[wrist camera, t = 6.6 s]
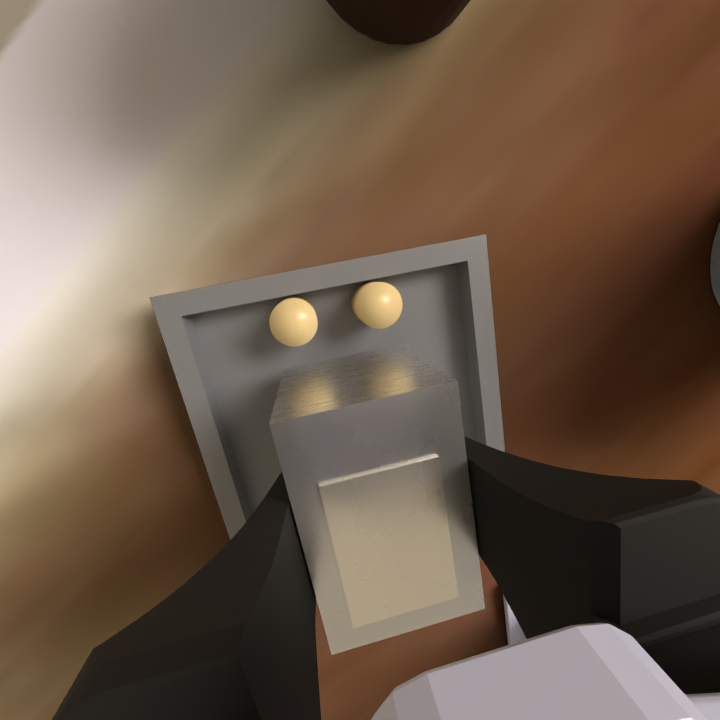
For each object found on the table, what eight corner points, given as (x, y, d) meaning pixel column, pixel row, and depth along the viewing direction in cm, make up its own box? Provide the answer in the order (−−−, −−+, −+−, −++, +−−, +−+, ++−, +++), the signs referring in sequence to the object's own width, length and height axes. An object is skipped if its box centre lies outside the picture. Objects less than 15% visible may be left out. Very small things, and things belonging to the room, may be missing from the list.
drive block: (427, 501, 15) (486, 611, 10) (323, 529, 14) (332, 658, 9) (402, 343, 13) (459, 382, 8) (283, 369, 13) (268, 425, 8)
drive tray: (493, 519, 18) (523, 558, 16) (261, 583, 17) (253, 637, 14) (464, 239, 15) (497, 231, 12) (169, 295, 13) (138, 298, 11)
